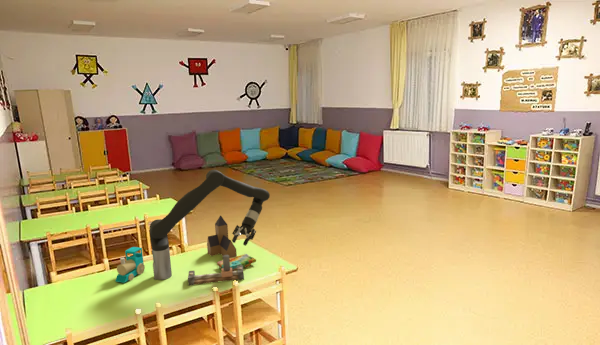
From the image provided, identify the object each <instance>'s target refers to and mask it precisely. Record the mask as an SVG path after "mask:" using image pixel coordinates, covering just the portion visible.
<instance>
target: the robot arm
mask: <svg viewBox="0 0 600 345" xmlns="http://www.w3.org/2000/svg"><path fill="white" fill-rule="evenodd" d="M219 187H224V188H227V189H228V190H230V191H231V190H232V192H235V193H237V194H240V195H243V196H244V197H247V198H253V199H252V202H251V205H250V207H249V208H248V211H247V212H246V214H245V215H244V217H243V220H242V222H241V225H238V224H237V225H236V226H235V228H234V229H233V231H232V233H231V234H232V235H233V237H232V239H231V241H232V243H233V244H235V243H236V242H237V240H238V237H239V236H246V238H245V239H244V241H243V243H242V244H243V246H247V245H248V244H249V241H250V240H252V241H253V240H254V238H255V236H256V233H257V230H256V229H255V226H256V224H257V223H258V219H259V217H260V214H261V212H262V210H263V204H264V202H266V201H268V200H269V199H270V192H269V191H268V190H267V189H265V188H262V187H257V186H253V185H251V184H249V183H248V184H247V183H245V182H243V181H240V180H237V179H234V178H232V177H229V176H227V175H226V174H223V173H222V172H221V171H219V170H217V169H210V170H209V171H208V172H207V173H206V176H205V180H204V181H203V182H202V183H200V185H198V186H197V187H195V188H193V189H192V190H190V191H188V192H187V193H186V194H184V195H183V196H182V197H181V198H180V199H178V201H176V203H175V204H174V205H173V207H172V208H171V210H170V211H169V213H168V214H167V215H166V216H165V217H163V218H162V219H158V218H157V219H155V220H152V221H151V222H150V225H149V236H150V244H151V246H150V247H151V251H152V252H151V254H152V261H153V262H152V270H153V279H154V280H167V279H170V278H171V277H172V274H173V272H172V263H171V255H170V254H171V253H170V252H171V251H170V243H169V236H168V234H169V233H170V231H171V230H172V229H173V228H174V227H175V226H176V225H177V224H178V223H179V222H180V221H182V220H183V219H184V218H185V217H187V216H188V214H190V213H191V212H192V211H193V210H194V209H195V208H197V207H198V205H199V204H200V203H202V201H204V199H205V198H206V197H207V196H209V195H210V193H212V192H214V191H215V190H216V189H218V188H219Z"/></svg>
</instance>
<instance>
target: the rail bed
mask: <svg viewBox="0 0 600 345" xmlns="http://www.w3.org/2000/svg"><path fill="white" fill-rule="evenodd" d="M237 269H238V270H236V271H232V272H233V276H231V277H222V272H215V273H206V274H205V273H204V274H196V273H195V270H189V271H188V275H187V282H188V283H187V284H188V286H195V285H203V283H204V284H211V282H213V283H219V282H218V281H222V282H230V281H237V280H236V279H239V280H238V281H241V280H242V279H243V280H245V276H244V275H245V274H244V273H245V272H244V268H243V265H240V266H237ZM243 280H242V281H243Z"/></svg>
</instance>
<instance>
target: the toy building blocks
mask: <svg viewBox="0 0 600 345" xmlns="http://www.w3.org/2000/svg"><path fill="white" fill-rule="evenodd" d="M228 225H229V224H228V223H227V222H226V221H225V219H224V218H223V217H222V215H219V217H218V218H217V220H216V222H215V223H214V227H215V228H214V229H215V230H214V232H215V234H211V235H210V236H207V241H206V248H207V254H208V255H209V256H210V257H213V256H218V255H221V256H222V257H223V255H229V258H233V257H236V256H238V255H237V248H236V246H235V245H234V243H233V242H232V239H230V238H229V228H228Z"/></svg>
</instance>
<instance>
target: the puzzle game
mask: <svg viewBox="0 0 600 345" xmlns="http://www.w3.org/2000/svg"><path fill="white" fill-rule="evenodd" d="M229 260H230V268H232V271H238V269H237V266H240V265H243V269H244V268H248V267H250V266H251V265H252V264H254V263H256V262H257V259H256V258H254V257H253V256H252V255H249V254H248V253H244V254H240V255H237V256H236V257H233V258H229ZM216 265H217V266H218V267H219V269H222V268H223V259H222V260H219V261H217V262H216Z"/></svg>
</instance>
